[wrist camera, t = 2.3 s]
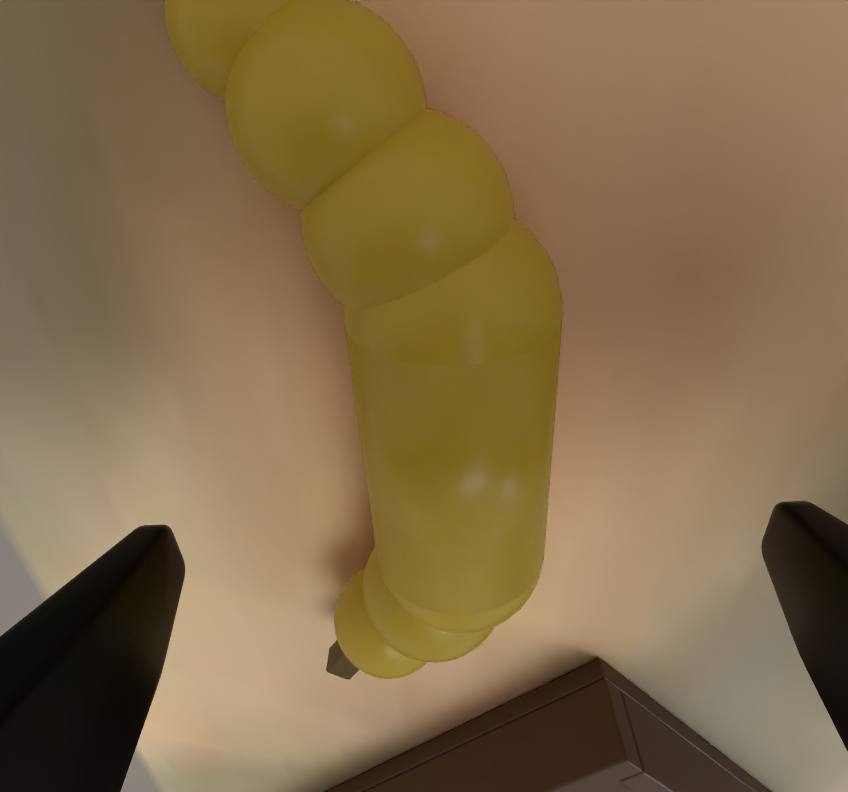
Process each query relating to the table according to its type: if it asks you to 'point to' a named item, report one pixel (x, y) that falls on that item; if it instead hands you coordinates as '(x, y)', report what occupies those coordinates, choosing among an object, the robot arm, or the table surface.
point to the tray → (565, 747)
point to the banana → (404, 312)
